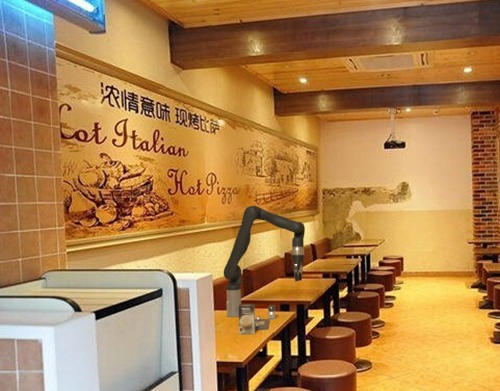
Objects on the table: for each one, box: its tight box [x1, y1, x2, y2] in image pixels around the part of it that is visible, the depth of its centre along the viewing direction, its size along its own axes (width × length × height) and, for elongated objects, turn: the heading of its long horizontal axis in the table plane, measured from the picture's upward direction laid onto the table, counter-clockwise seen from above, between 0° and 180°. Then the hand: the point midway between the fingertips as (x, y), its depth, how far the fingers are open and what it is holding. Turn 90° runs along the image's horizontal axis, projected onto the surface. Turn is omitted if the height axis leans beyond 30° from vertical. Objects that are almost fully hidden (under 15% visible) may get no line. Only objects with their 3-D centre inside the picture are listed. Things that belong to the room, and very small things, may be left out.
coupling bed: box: [255, 315, 270, 331], centre depth 352 cm, size 13×24×3 cm, turn 176°
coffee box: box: [238, 303, 256, 335], centre depth 333 cm, size 9×6×16 cm
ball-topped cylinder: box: [267, 305, 276, 320], centre depth 368 cm, size 4×4×8 cm
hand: (298, 280), depth 357 cm, fingers open, 8 cm apart
